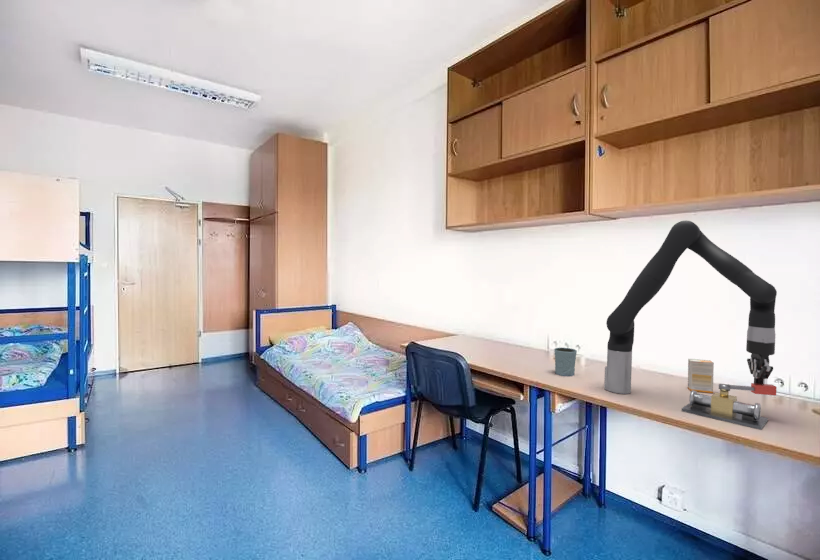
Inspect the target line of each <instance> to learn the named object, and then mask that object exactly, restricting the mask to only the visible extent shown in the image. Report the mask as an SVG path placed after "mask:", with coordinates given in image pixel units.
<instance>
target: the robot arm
mask: <svg viewBox="0 0 820 560" xmlns="http://www.w3.org/2000/svg"><path fill="white" fill-rule="evenodd" d="M687 249H688V250H690V251H692V252H693V253H695V254H697V255H698V256H699V257H700V258H702V259H703V260H705V261H706V263H708V264H709V265H710V266H711V267H712V268H713V270H716V271H717V272H718V273H719V275H721V276H723V277H724V278H725V279H727V281H729V282H730V283H732V284H734V285H735V286H737V287H738V288H739V289H740V290H741V291H742V292H743V293H745V295H747V296H748V297H749V300H750V301H749V306H750V309H749V313H748V323H747V324H748V326H747V331H746V345H745V346H746V347H745V348H746V352H747V353H750V357H749V358H747V359H746V361H747V365H748V369H749V372H750V375H752V377H753V383H757V384H765V383H764V381H765V380H768V379H769V377H770V376H771V373H772V372H773V370H774V367H773V366H771V365H770V357H769V356H773V355H775V353H776V351H775V350H776V314H775V309H776V298H777V294H778V293H777V289H776V287H775V286H774V285H773V284H772V283H769V282H768V281H766V280H765V279H763V278H762V277H761V276H759V275H758V274H756V273H755V272H753V270H752V269H751V268H749V267H748V266H747V265H746V264H744V263H743V262H742V261H740V260H739V259H737V258H736V257H734V256H733V255H732V254H730V253H729V252H727V251H725V250H723V249H722V248H721V247H720V246H718V245H717V244H715V243H714V242H712V241H711V240H710V239H709V238H708V236H706V235H705V234H704V233H703V231H702V230H701V229H700V227H699V226H698V225H697V224H696V222H693V221H691V220H681V221H677V222H676V223H675V224H674V225H673V226H672V227H671V228H670V230H669V232H668V234H667V236H666V237H665V238H664V241H663V243H661V246H660V247H659V249H658V251H657V252H656V253H655V254H654V255H653V256H652V257H651V259H650V260H649V261H648V262H647V264H646V265H645V266H644V268H642V270H641V271H640V273H639V274H638V276H637V277H636V279H635V280H634V282H633V284H632V285H631V286H630V288H629V290H628V292H626V295H625V297H624V298H623V299H622V300H621V302H620V303H619V305H618V306H617V307H615V309H613V311H612V312H611V313H610V314H609V315H608V316H607V319H606V323H605V324H606V328H607V330H608V331H609V339H608V341H607V347H606V348H607V349H606V350H607V352H606V353H607V355H606V366H605V367H604V384H603V385H604V386H603V387H604V388H603V389H604V390H606V391H609V392H610V393H614V394H622V395H623V394H624V395H625V394H626V395H627V394H630V393H631V392H632V371H633V370H632V369H633V368H632V367H633V366H632V365H633V345H634V341H635V338H634V337H635V319H636V317H637V316H638V314H639V312H640V311H641V310H642V309H643V308H644V307H645V306H646V305H647V304H649V302H650V301H651V300H652V299H653V298H655V296H656V295H657V294H658V293H659V291H660V290H661V289H662V288H663V286H664V285H665V283H666V282H667V281H668V279H669V278H670V276H671V274H672V271H673V270H674V268H675V265H676V263H677V261H678V260H679V258H680V257H681V256H682V255H683V253H685V251H686V250H687Z"/></svg>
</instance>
